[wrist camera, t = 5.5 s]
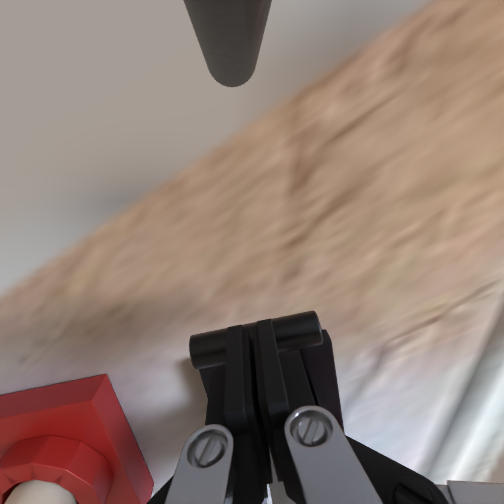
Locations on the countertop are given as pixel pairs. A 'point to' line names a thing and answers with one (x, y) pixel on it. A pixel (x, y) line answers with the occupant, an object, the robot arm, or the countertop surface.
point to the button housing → (72, 443)
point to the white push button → (40, 494)
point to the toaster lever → (287, 338)
